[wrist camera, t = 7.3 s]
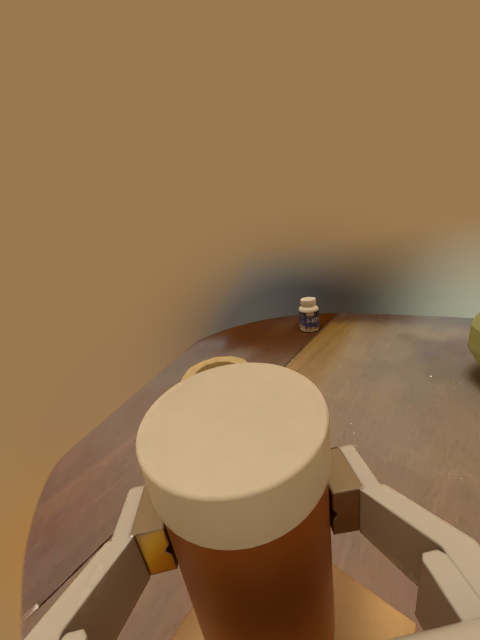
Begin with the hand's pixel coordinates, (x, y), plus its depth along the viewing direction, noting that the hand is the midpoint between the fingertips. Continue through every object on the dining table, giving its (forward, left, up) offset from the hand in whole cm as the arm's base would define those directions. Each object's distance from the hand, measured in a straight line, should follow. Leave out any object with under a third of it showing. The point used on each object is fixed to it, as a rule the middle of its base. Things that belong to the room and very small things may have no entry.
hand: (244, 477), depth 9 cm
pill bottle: (-24, +56, -19) cm, 64 cm away
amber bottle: (+1, -1, -5) cm, 5 cm away
